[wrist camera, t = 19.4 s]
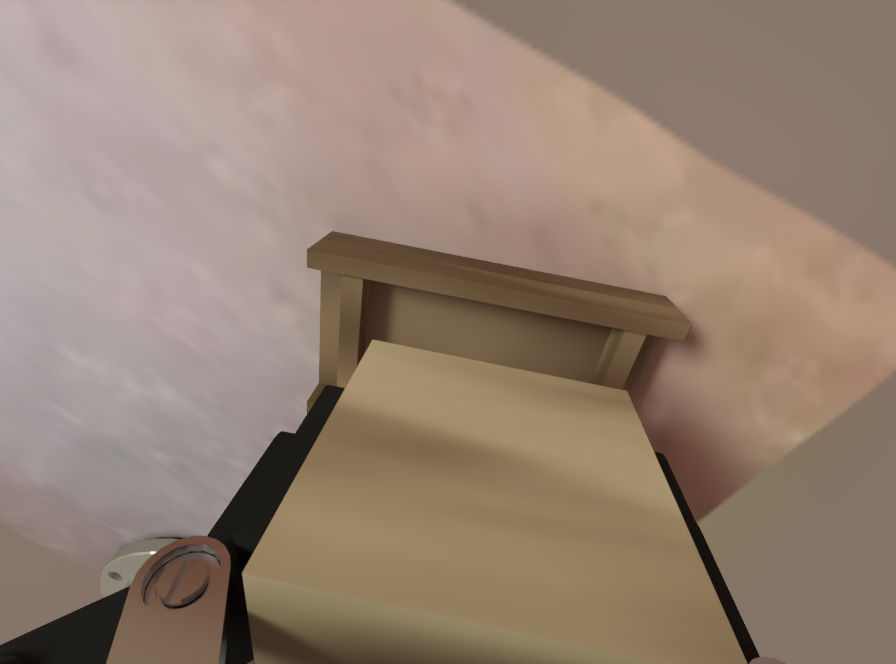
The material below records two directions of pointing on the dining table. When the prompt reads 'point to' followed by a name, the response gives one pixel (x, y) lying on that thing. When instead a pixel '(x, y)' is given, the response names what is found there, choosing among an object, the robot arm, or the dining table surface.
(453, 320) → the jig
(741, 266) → the dining table surface
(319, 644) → the wing block
